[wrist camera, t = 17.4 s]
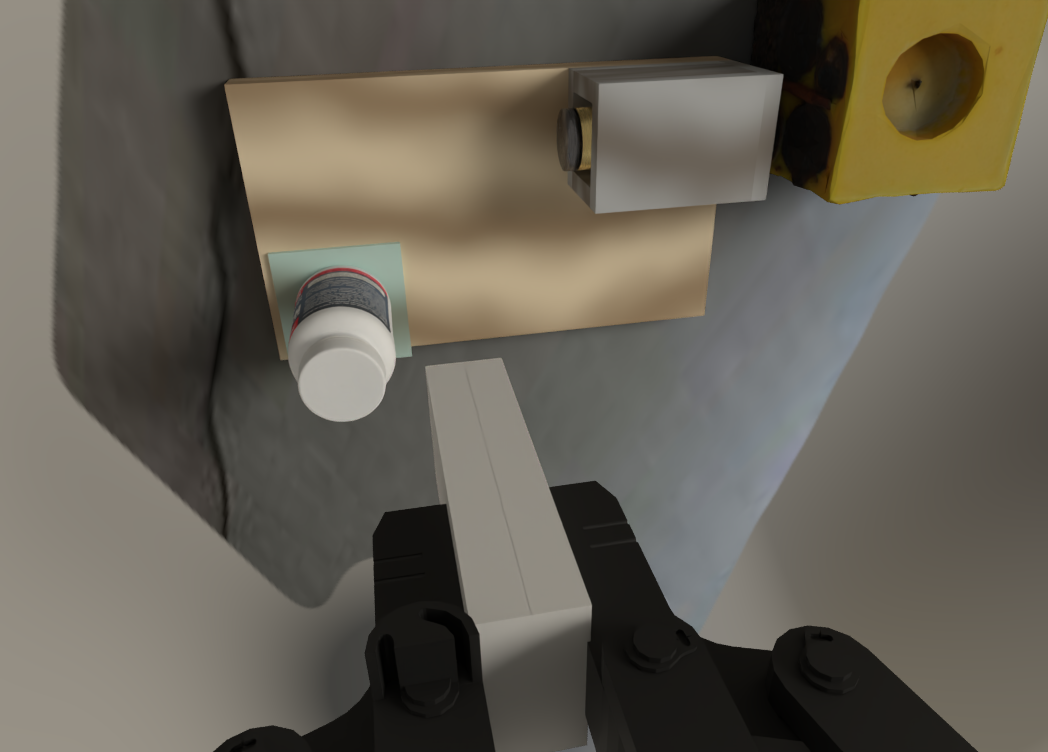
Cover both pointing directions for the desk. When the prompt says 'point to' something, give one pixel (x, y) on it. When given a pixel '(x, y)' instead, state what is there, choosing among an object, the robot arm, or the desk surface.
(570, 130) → the pin
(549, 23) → the desk surface
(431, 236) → the wooden base board
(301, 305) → the pill bottle
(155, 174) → the desk surface
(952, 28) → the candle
